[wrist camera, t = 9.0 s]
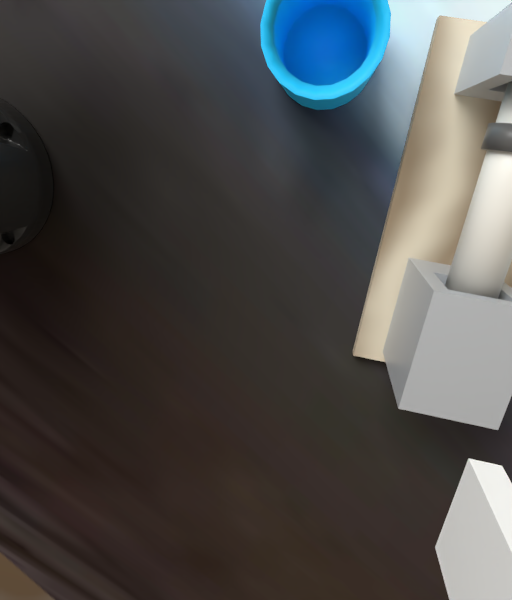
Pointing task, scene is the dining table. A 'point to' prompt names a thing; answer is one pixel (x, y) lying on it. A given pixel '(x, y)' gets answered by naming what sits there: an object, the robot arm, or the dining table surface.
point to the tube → (488, 215)
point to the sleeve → (450, 348)
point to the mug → (324, 47)
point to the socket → (488, 59)
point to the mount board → (429, 180)
